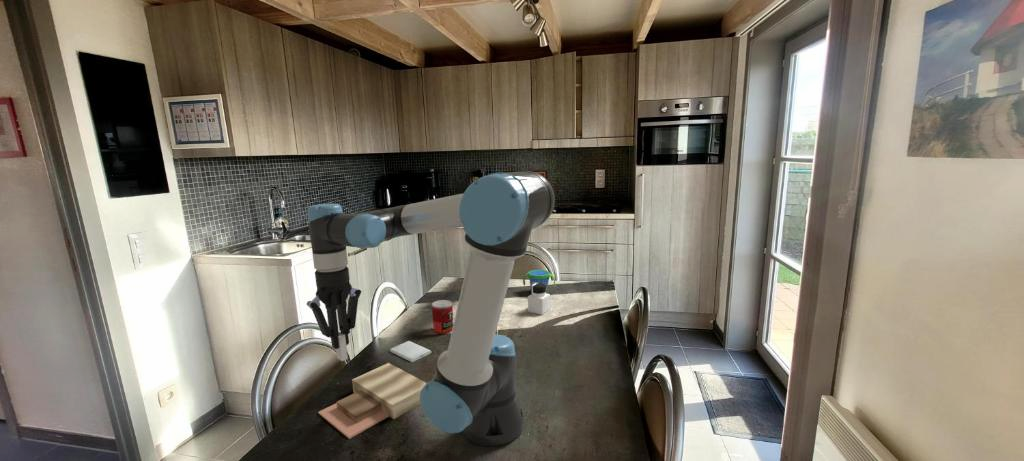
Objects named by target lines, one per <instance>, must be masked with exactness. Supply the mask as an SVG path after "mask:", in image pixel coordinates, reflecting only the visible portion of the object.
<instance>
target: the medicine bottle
mask: <svg viewBox="0 0 1024 461" xmlns="http://www.w3.org/2000/svg"><path fill="white" fill-rule="evenodd" d="M527 305H528V306H527V312H528V313H532V314H537V315H540V316H543V315H544V314H546V313H547V312H549V311H550V310H551V294H550V293H546V285H545V284H543V283H535V284H533V285H532V292H531V294H530V295H528V296H527Z"/></svg>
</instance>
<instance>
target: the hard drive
mask: <svg viewBox="0 0 1024 461" xmlns="http://www.w3.org/2000/svg"><path fill="white" fill-rule="evenodd" d="M389 352H390V353H392V354H394V355H396V356H398V357H400V358H401V359H405V360H406V361H408V362H410V363H413V362H416V361H417V360H420V359H422V358H424V357H426V356H428V355H431V354H432V350H430V349H428V348H426V347H424V346H421V345H419V344H417V343H415V342H413V341H411V340H407V341H405V342H403V343H401V344H398V345H395V346H393V347H391V348H390V349H389Z"/></svg>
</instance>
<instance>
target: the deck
mask: <svg viewBox="0 0 1024 461" xmlns="http://www.w3.org/2000/svg"><path fill="white" fill-rule="evenodd" d="M351 381H352V382H351V383H352V391H353V394H354V393H356V392H358V391H360V390H361V391H363V392H364V393H366V394H367V395H369V396H370V397H372V398H374V399H375V400H377V401H378V402H380V403H381V410H383V411H384V412H386V413H387V414H389V417H388V418H391V419H393V420H396V419H397V418H399V417H400V416H401V415H404V414H405V413H407V412H409V411H410V410H413V409H414V408H415V407H418V406H419V405H421V403H420V393H421V390H422V388H423V387H424V386H425V385H426V383H427V382H426V381H423V380H422V379H420V378H418V377H416V376H415V375H413V374H411V373H409V372H407V371H405V370H403V369H401V368H399V367H398V366H395V365H394V364H391V363H390V362H387V363H386V364H382V365H381V366H378V367H377V368H374V369H372V370H370V371H368V372H366V373H364V374H362V375H359V376H357V377H355V378H352V379H351Z"/></svg>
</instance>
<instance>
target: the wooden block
mask: <svg viewBox="0 0 1024 461" xmlns="http://www.w3.org/2000/svg"><path fill="white" fill-rule="evenodd" d="M336 403H337V409H338V410H340V411H341V412H342V413H344V414H345V415H346V416H348V417H349V418H350V419H352V420H353V421H354V422H355V423H359V422H360V421H362V420H364V419H366V418H368V417H370V416H371V415H373V414H375V413H377V412H379V411H381V403H380V402H378V401H377V400H375V399H374V398H372V397H370V396H369V395H367V394H366V393H364V392H363V391H361V390H360V391H358V392H356V393H354V392H353V393H352V394H350V395H348V396H346V397H344V398H342V399H340V400H337V401H336Z"/></svg>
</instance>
